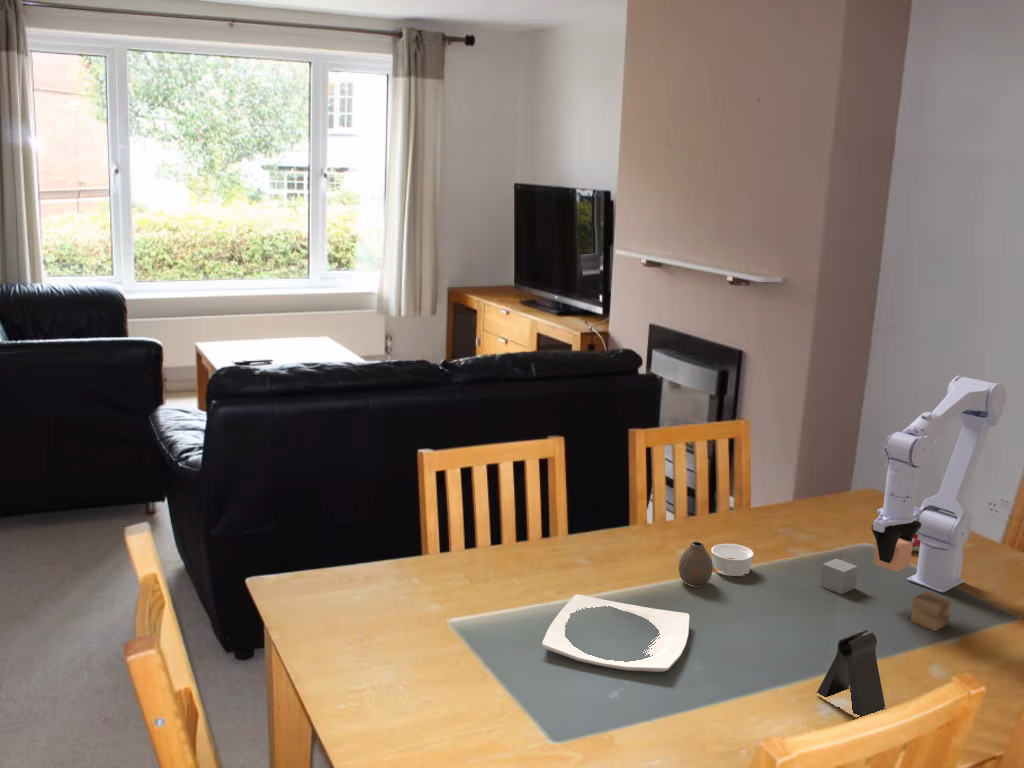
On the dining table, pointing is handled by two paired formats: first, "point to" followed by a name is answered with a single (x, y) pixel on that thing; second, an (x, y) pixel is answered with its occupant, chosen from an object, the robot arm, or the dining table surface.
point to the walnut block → (931, 611)
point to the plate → (667, 622)
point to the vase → (695, 565)
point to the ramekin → (732, 566)
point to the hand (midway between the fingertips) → (892, 557)
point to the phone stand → (856, 674)
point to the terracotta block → (896, 556)
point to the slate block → (838, 576)
